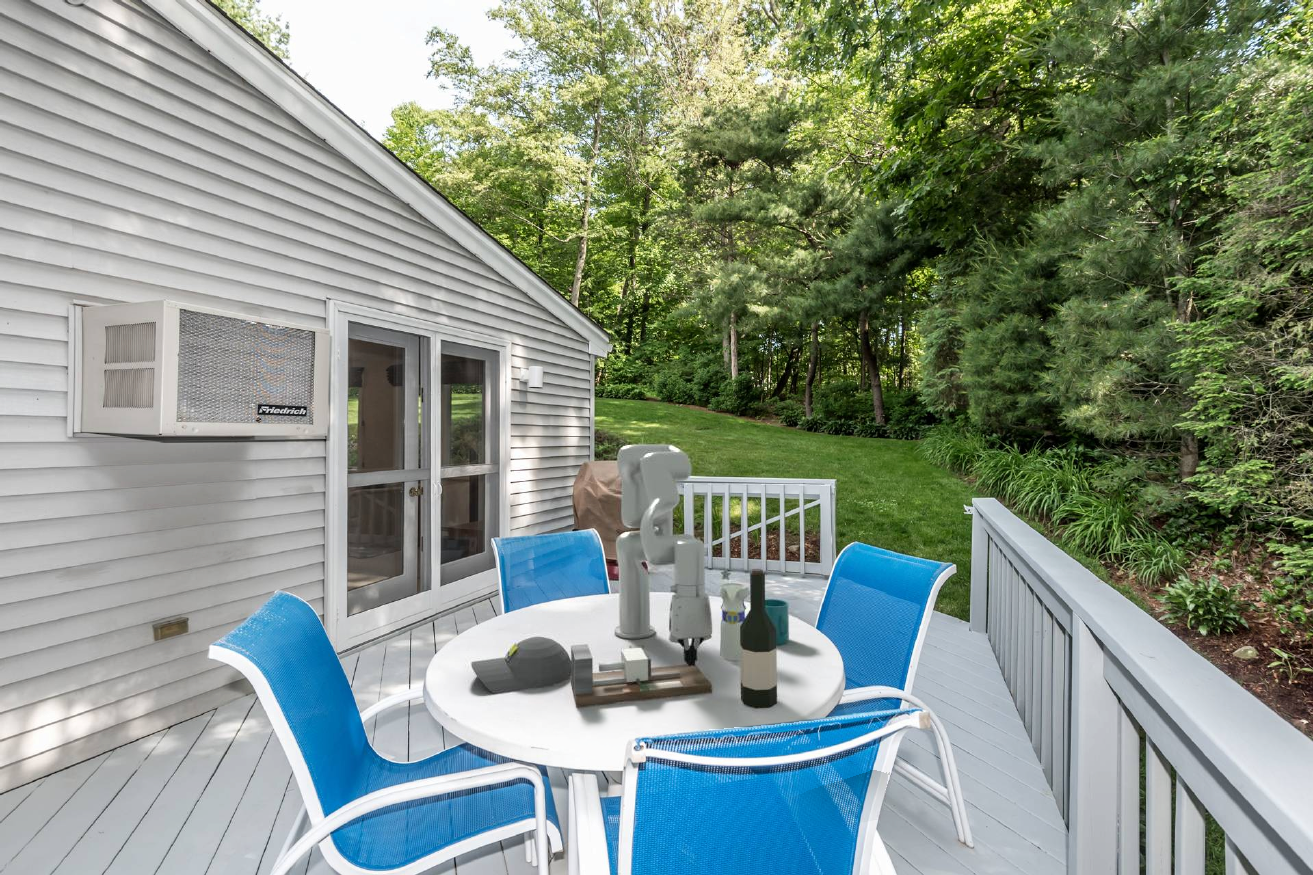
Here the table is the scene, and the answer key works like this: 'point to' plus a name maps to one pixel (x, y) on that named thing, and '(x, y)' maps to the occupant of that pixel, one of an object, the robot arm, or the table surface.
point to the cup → (779, 618)
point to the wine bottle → (758, 650)
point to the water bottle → (732, 617)
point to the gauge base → (618, 690)
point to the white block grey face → (631, 665)
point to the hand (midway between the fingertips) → (690, 663)
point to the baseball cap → (525, 666)
